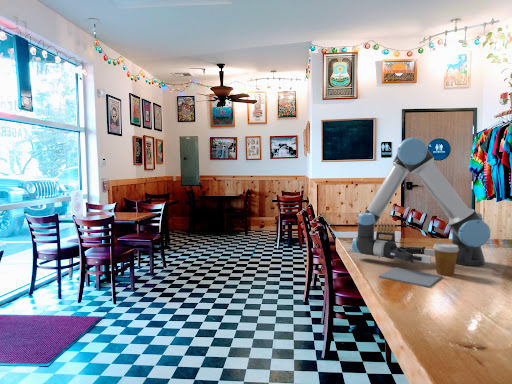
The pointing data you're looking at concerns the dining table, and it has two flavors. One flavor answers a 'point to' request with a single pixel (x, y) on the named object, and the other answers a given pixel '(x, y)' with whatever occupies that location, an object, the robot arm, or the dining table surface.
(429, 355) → the dining table surface
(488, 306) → the dining table surface
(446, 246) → the disposable coffee cup
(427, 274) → the mat
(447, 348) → the dining table surface
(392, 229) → the ammunition clip
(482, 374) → the dining table surface
